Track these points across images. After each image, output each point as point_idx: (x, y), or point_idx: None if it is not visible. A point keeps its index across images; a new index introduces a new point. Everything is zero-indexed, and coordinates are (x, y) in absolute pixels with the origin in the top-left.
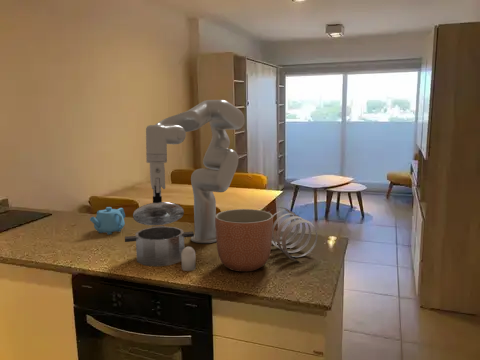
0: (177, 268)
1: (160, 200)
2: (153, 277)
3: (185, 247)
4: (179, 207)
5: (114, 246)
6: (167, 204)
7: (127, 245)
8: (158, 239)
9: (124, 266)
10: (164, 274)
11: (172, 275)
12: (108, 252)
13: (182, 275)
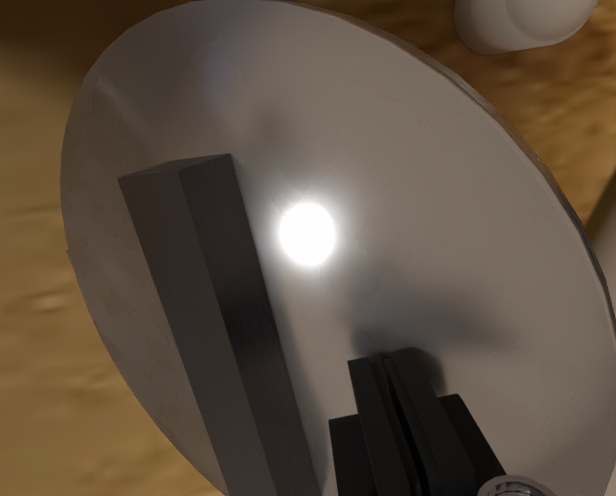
0: (483, 81)
1: (448, 428)
2: (581, 193)
3: (572, 4)
4: (410, 43)
5: (110, 466)
6: (598, 262)
7: (86, 413)
8: None
9: None
10: (555, 144)
11: (579, 98)
12: None
13: (592, 41)
